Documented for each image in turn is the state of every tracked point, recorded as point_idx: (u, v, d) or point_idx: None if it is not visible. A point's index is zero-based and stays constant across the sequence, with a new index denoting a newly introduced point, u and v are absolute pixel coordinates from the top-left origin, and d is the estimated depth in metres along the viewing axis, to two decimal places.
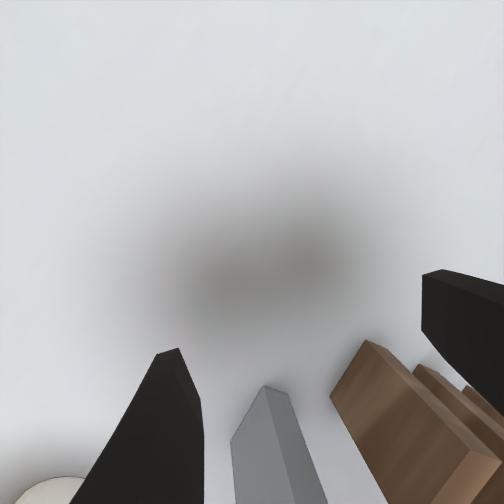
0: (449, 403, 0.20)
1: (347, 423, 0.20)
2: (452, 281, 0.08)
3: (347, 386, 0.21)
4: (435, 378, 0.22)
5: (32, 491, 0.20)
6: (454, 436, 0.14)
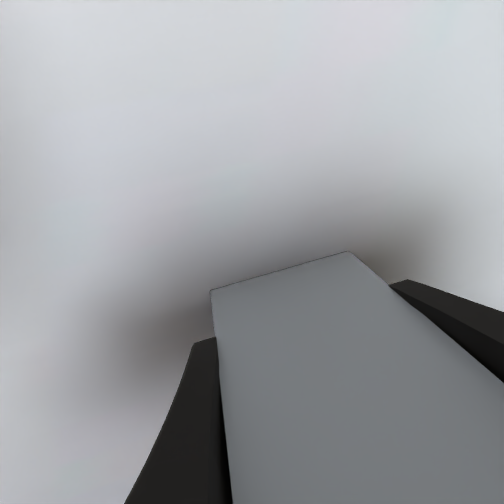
0: None
1: None
2: (414, 292, 0.08)
3: None
4: None
5: None
6: None
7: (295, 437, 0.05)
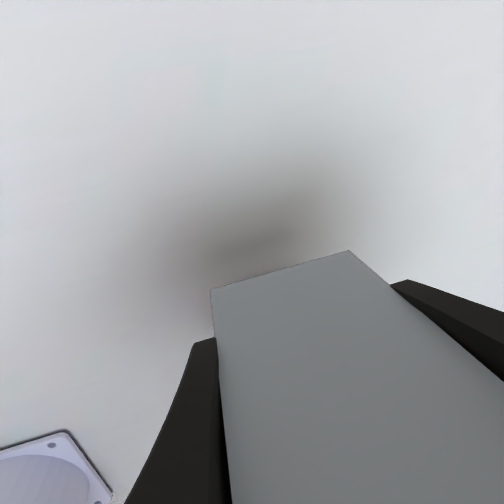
0: None
1: None
2: (414, 292, 0.08)
3: None
4: None
5: None
6: None
7: (294, 436, 0.05)
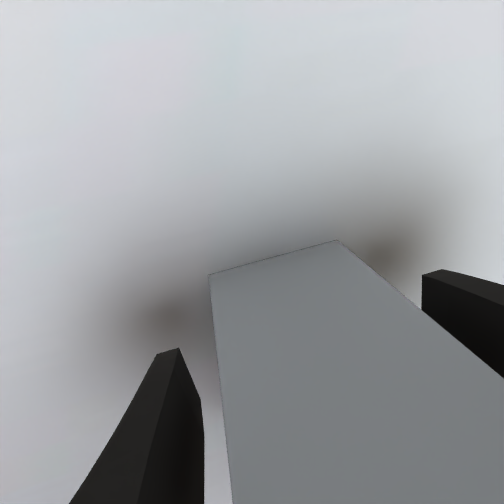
0: None
1: None
2: (452, 281, 0.08)
3: None
4: None
5: None
6: None
7: (280, 387, 0.06)
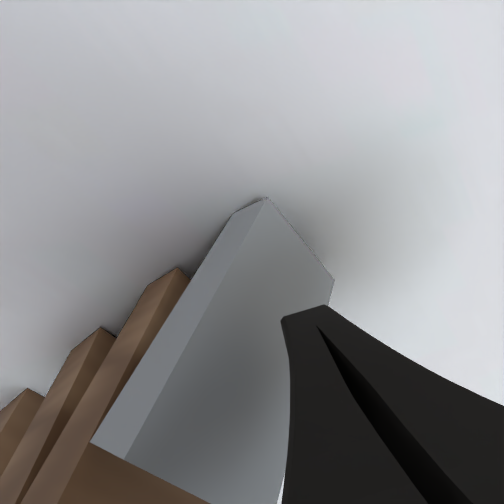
0: None
1: (155, 322, 0.11)
2: (320, 321, 0.08)
3: None
4: None
5: None
6: None
7: (226, 349, 0.09)
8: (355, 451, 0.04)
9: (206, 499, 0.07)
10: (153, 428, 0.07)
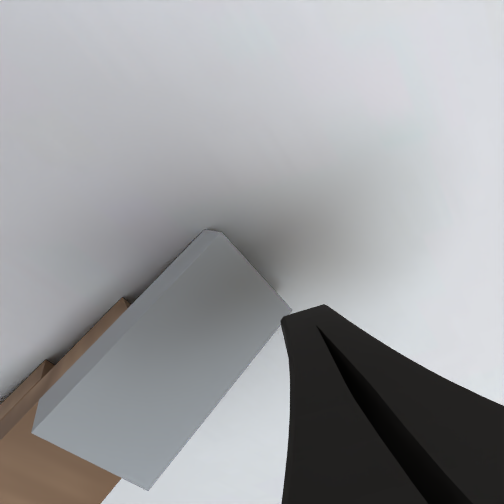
0: None
1: None
2: (320, 321, 0.08)
3: None
4: None
5: None
6: None
7: (136, 368, 0.11)
8: (355, 451, 0.04)
9: (95, 463, 0.11)
10: (57, 417, 0.10)
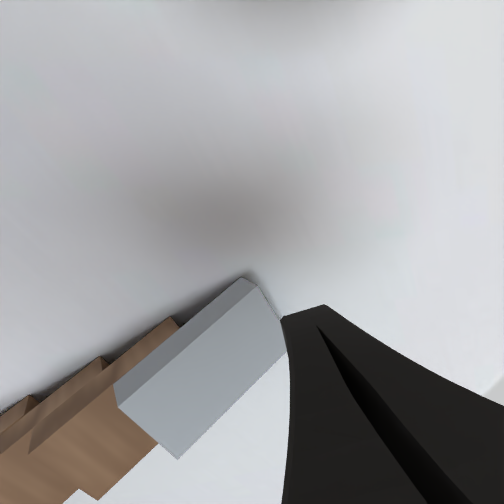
0: None
1: None
2: (320, 321, 0.08)
3: None
4: None
5: None
6: (108, 487, 0.17)
7: (187, 372, 0.16)
8: (355, 451, 0.04)
9: (149, 434, 0.16)
10: (134, 399, 0.15)
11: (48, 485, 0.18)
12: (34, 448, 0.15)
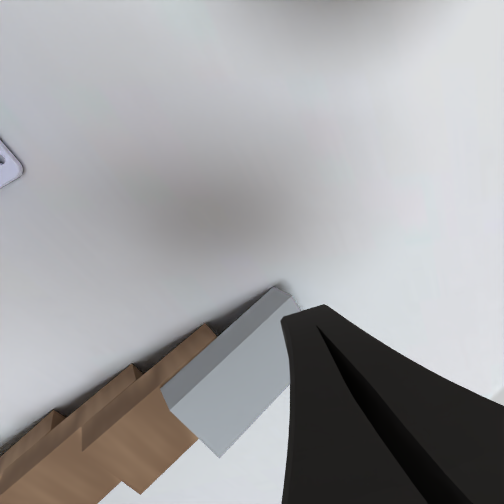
0: None
1: None
2: (320, 321, 0.08)
3: None
4: None
5: None
6: (150, 482, 0.19)
7: (229, 377, 0.17)
8: (355, 451, 0.04)
9: (196, 435, 0.17)
10: (184, 402, 0.16)
11: (88, 484, 0.19)
12: (87, 446, 0.16)
